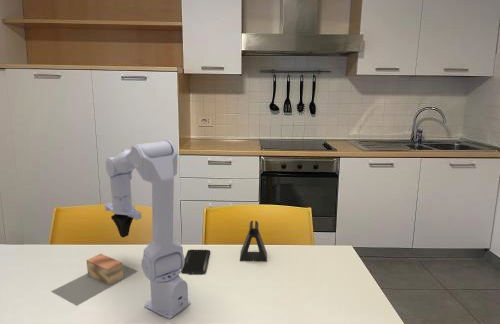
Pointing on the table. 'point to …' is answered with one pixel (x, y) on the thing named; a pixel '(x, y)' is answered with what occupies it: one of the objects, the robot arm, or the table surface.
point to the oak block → (104, 269)
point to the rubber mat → (87, 287)
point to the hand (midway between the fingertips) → (124, 235)
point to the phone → (196, 262)
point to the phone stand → (262, 251)
